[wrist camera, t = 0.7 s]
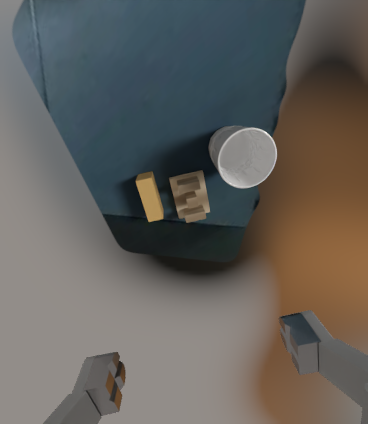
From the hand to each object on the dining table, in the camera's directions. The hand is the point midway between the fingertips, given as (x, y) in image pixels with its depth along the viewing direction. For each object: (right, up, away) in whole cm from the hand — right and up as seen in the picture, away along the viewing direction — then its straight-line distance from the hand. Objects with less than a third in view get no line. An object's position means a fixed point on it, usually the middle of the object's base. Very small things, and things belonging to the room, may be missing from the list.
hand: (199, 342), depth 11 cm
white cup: (+7, +18, +27) cm, 33 cm away
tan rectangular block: (-7, +10, +30) cm, 32 cm away
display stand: (0, +10, +30) cm, 32 cm away
